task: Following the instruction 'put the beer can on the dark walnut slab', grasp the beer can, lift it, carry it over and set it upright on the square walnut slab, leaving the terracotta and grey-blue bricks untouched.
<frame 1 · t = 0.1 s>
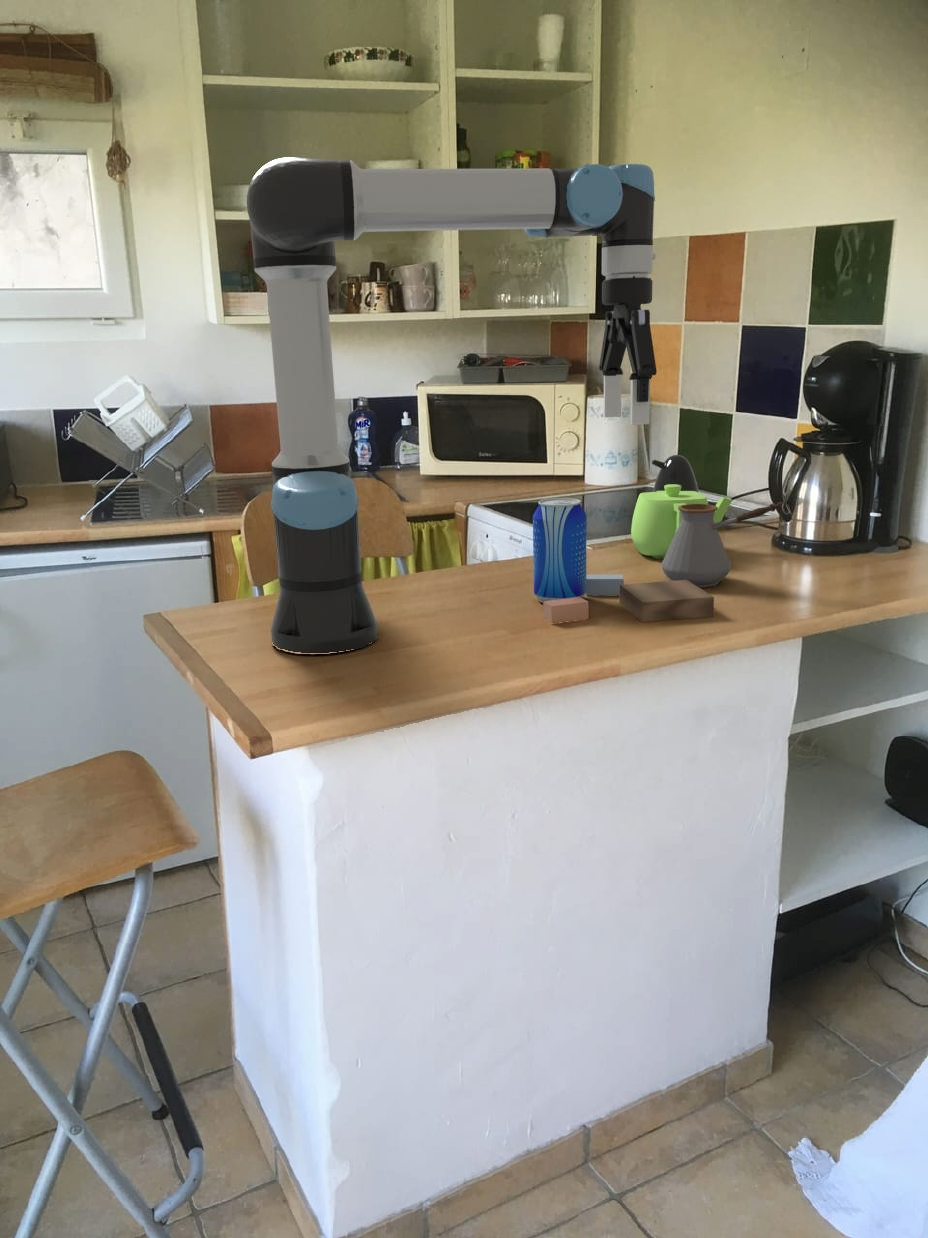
hand: (625, 420, 159), 28 cm above the countertop, fingers open, 13 cm apart
terracotta brick: (565, 620, 153), on the countertop
coffee pot: (722, 587, 169), on the countertop
teapot: (681, 553, 194), on the countertop
greyblue brick: (604, 594, 167), on the countertop
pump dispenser: (674, 526, 219), on the countertop
beer can: (560, 601, 164), on the countertop
walnut slab: (665, 609, 156), on the countertop
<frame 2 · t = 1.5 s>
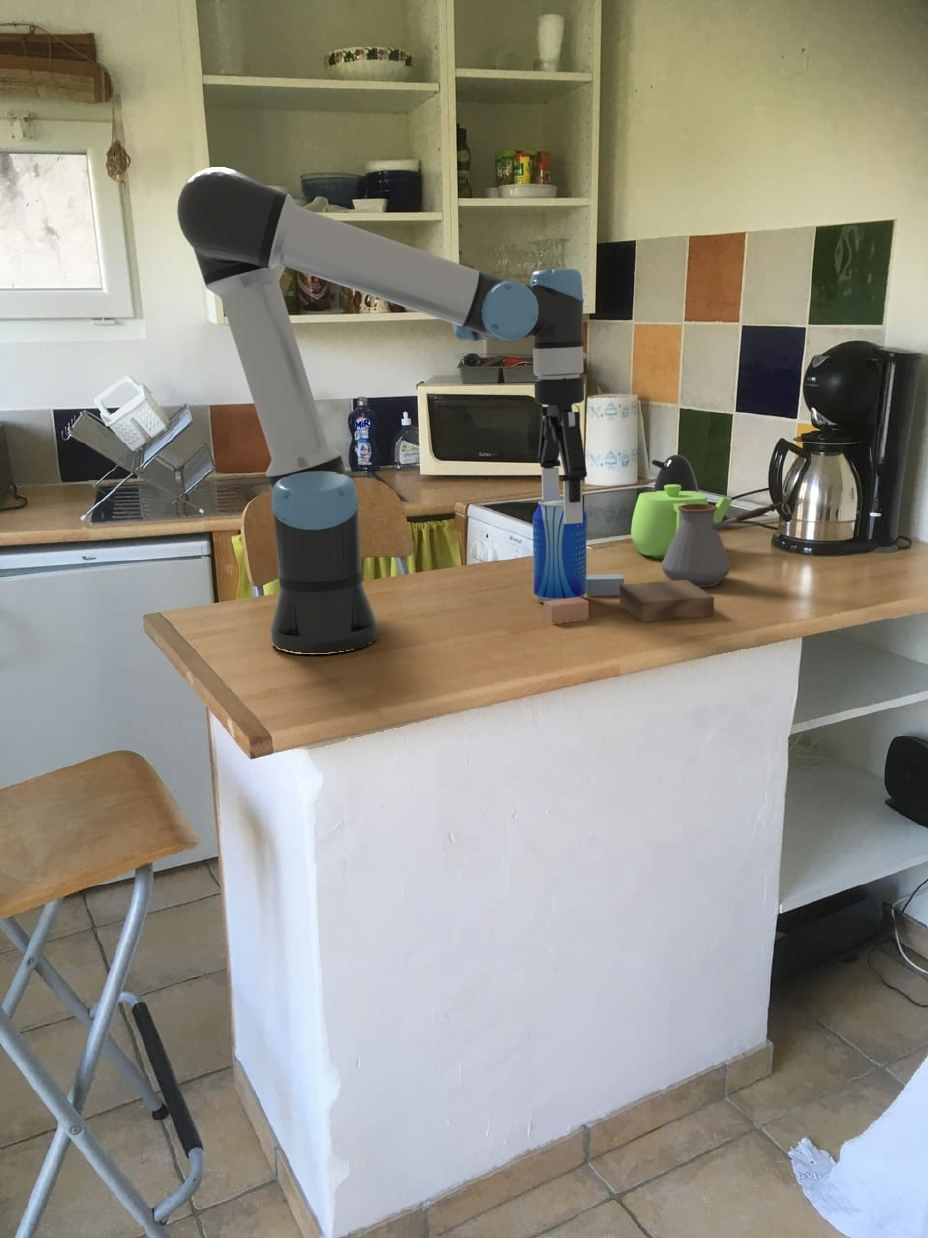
hand: (561, 515, 160), 14 cm above the countertop, fingers open, 13 cm apart
nothing on the countertop moved.
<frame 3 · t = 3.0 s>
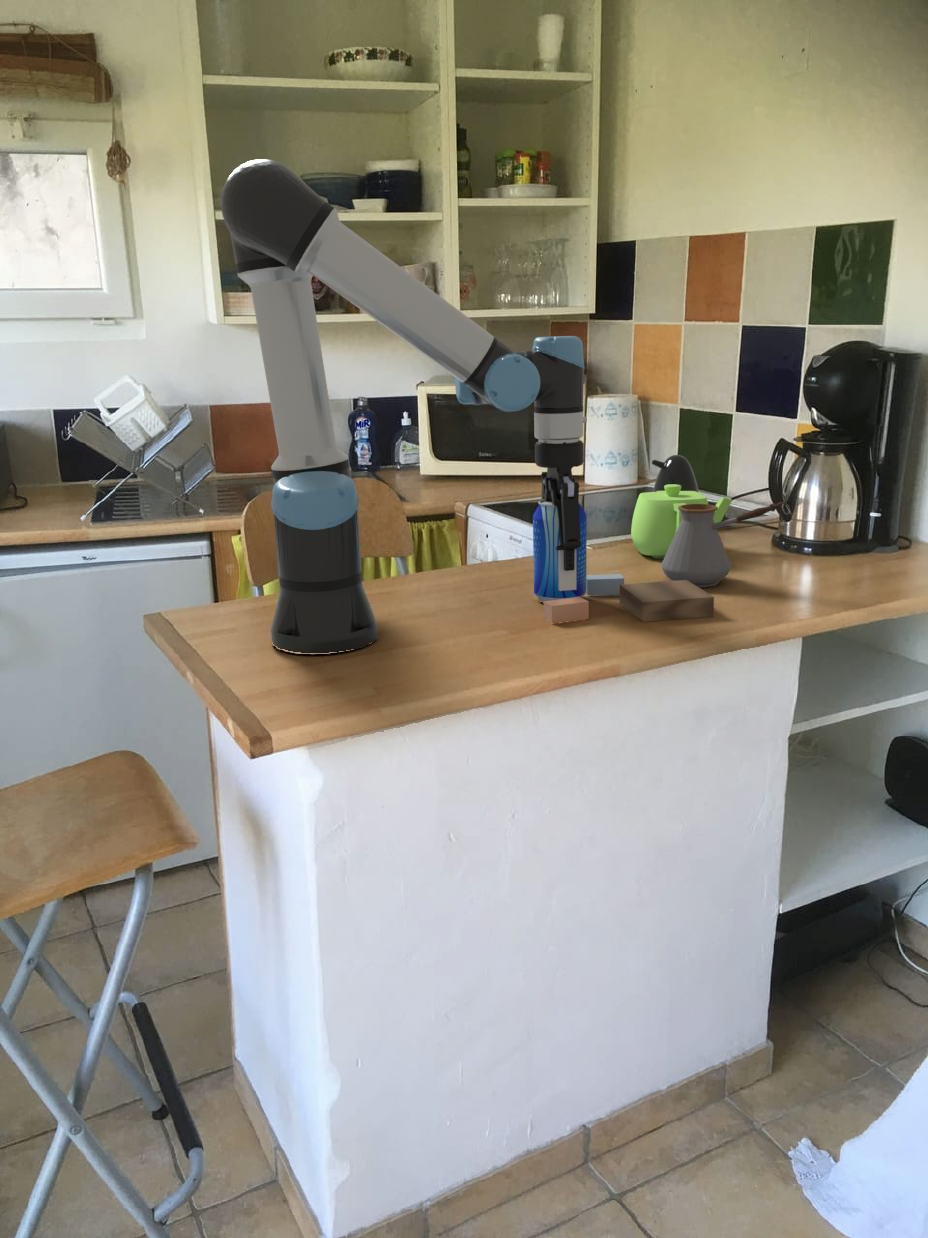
hand: (560, 582, 163), 3 cm above the countertop, fingers closed on beer can, 8 cm apart
beer can: (560, 600, 164), on the countertop, touching gripper
everything else where it was.
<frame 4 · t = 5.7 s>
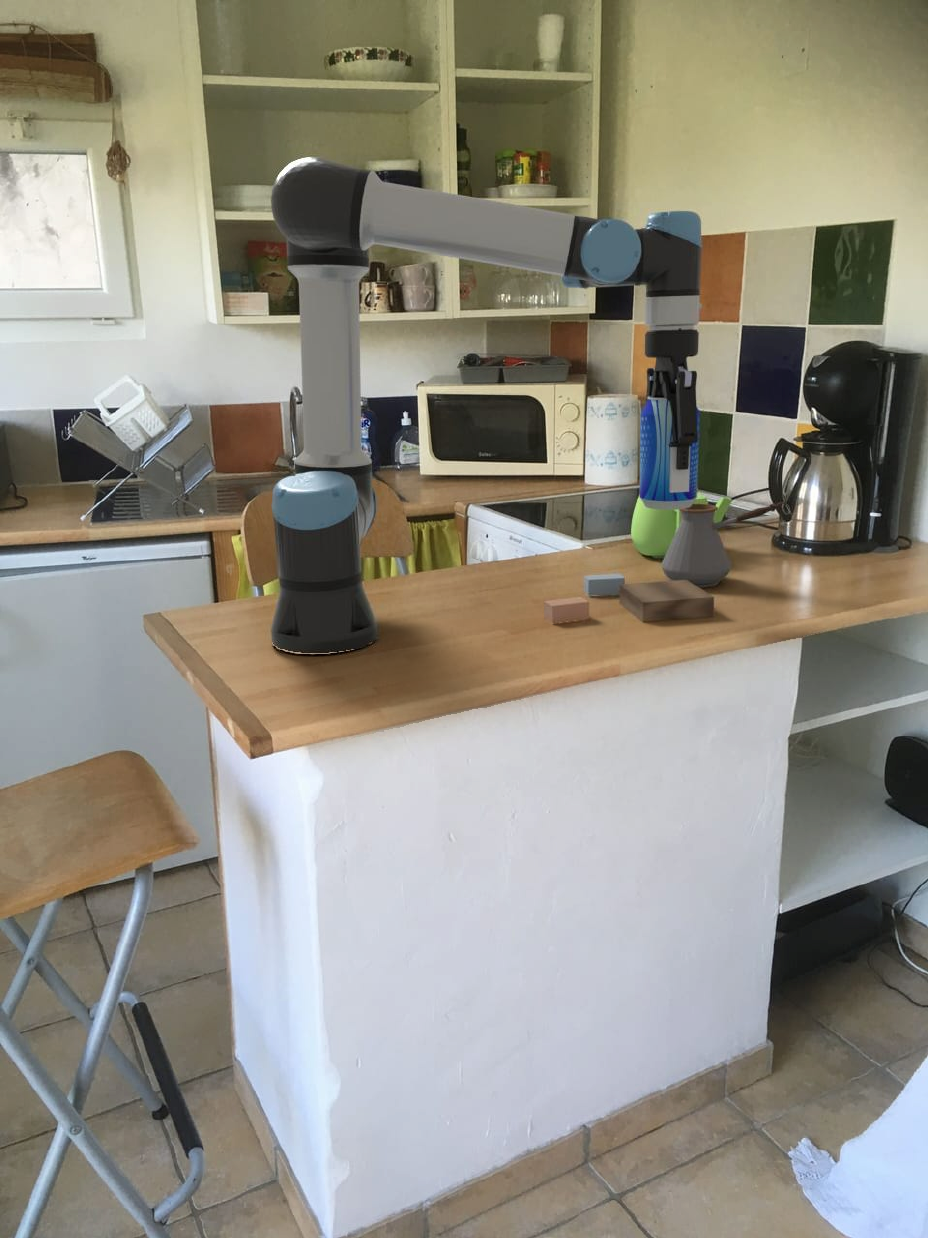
hand: (668, 486, 151), 19 cm above the countertop, fingers closed on beer can, 8 cm apart
beer can: (667, 507, 152), point 16 cm above the countertop, touching gripper
everything else where it was.
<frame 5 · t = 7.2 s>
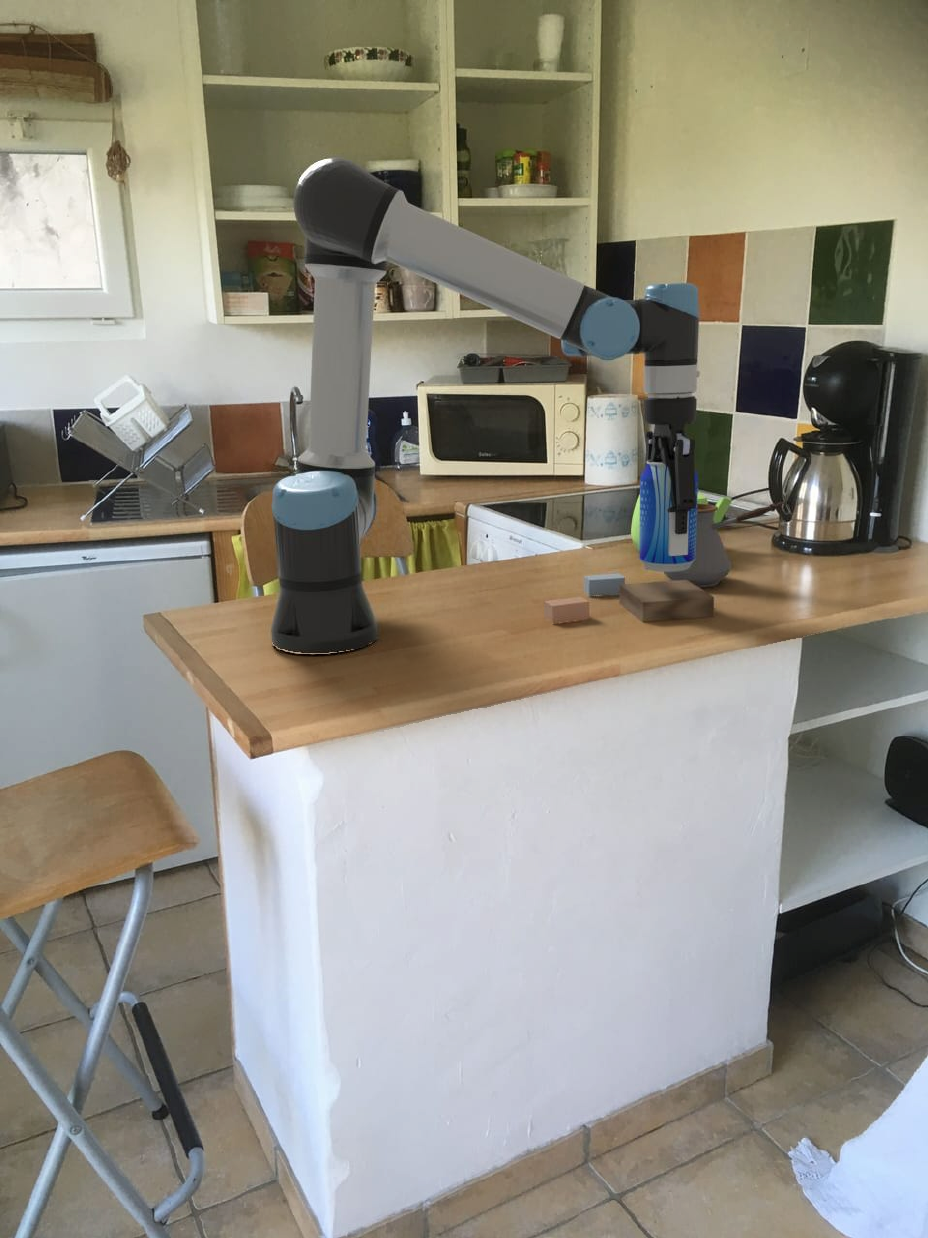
hand: (667, 548, 154), 10 cm above the countertop, fingers closed on beer can, 8 cm apart
beer can: (667, 567, 155), point 7 cm above the countertop, touching gripper
everything else where it was.
when the fingers open (7 cm above the countertop, at t = 8.3 s): beer can stays where it is, resting on walnut slab.
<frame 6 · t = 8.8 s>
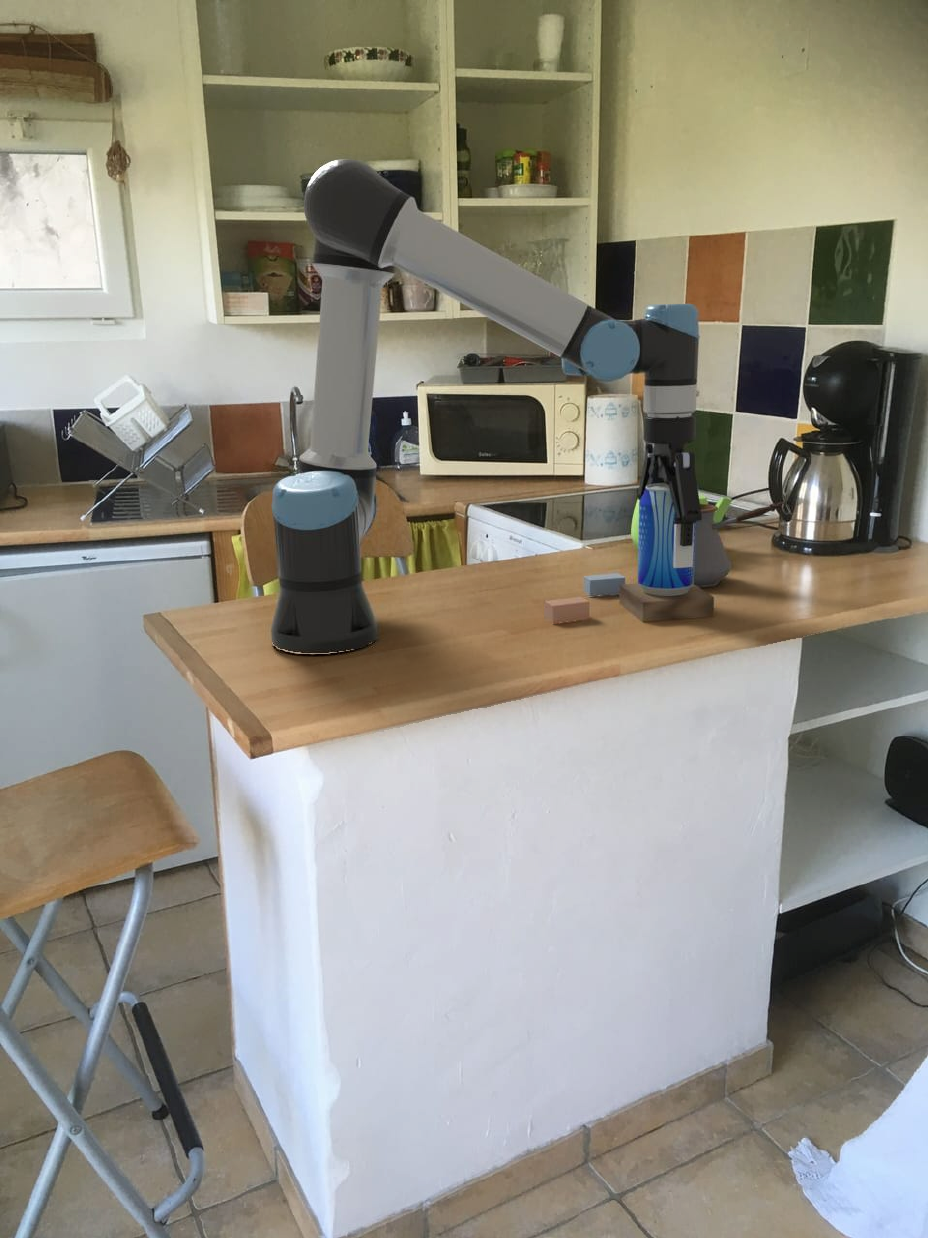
hand: (666, 557, 154), 8 cm above the countertop, fingers open, 13 cm apart
beer can: (665, 591, 156), point 3 cm above the countertop, touching walnut slab
everything else where it was.
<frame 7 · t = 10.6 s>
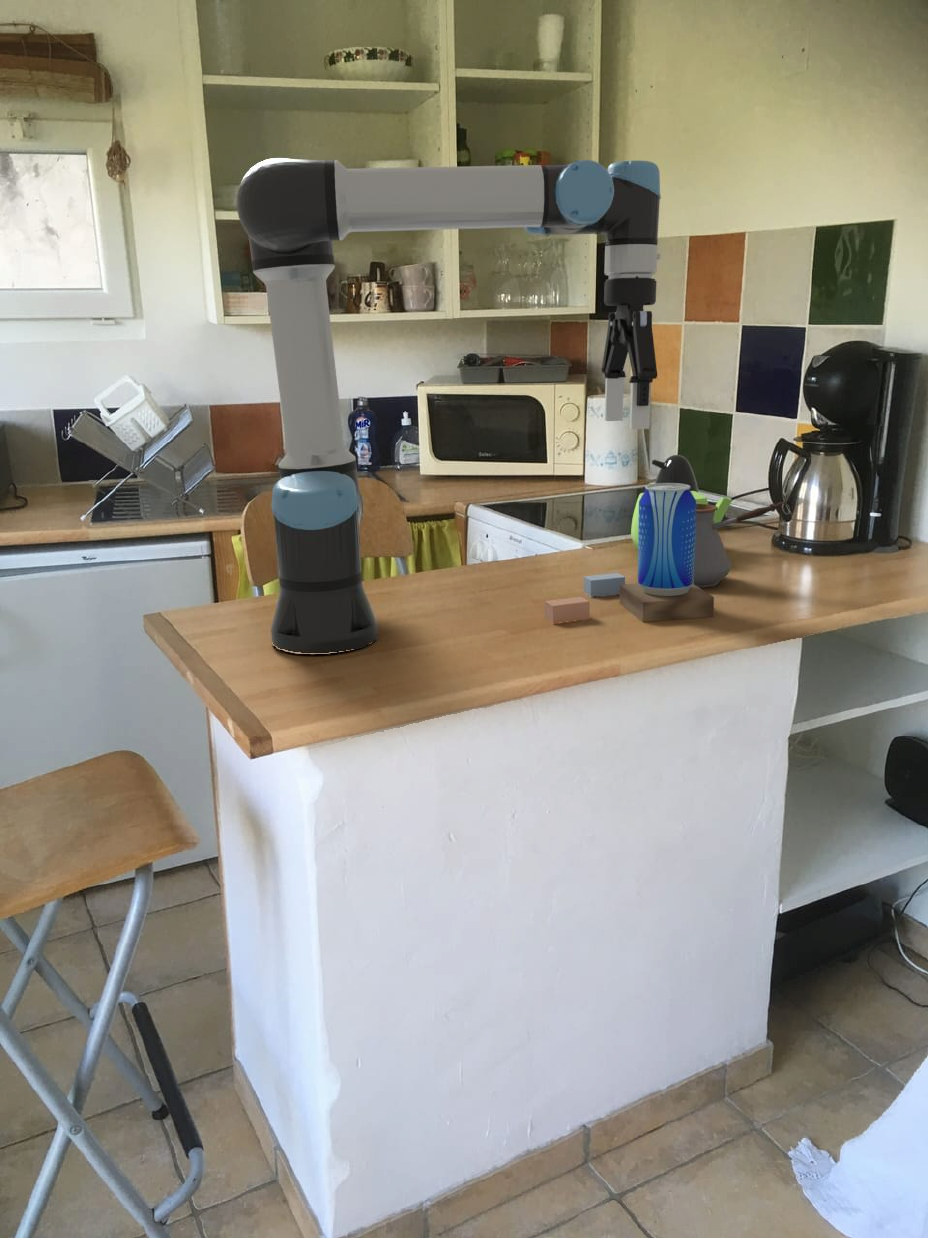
hand: (626, 424, 155), 28 cm above the countertop, fingers open, 13 cm apart
nothing on the countertop moved.
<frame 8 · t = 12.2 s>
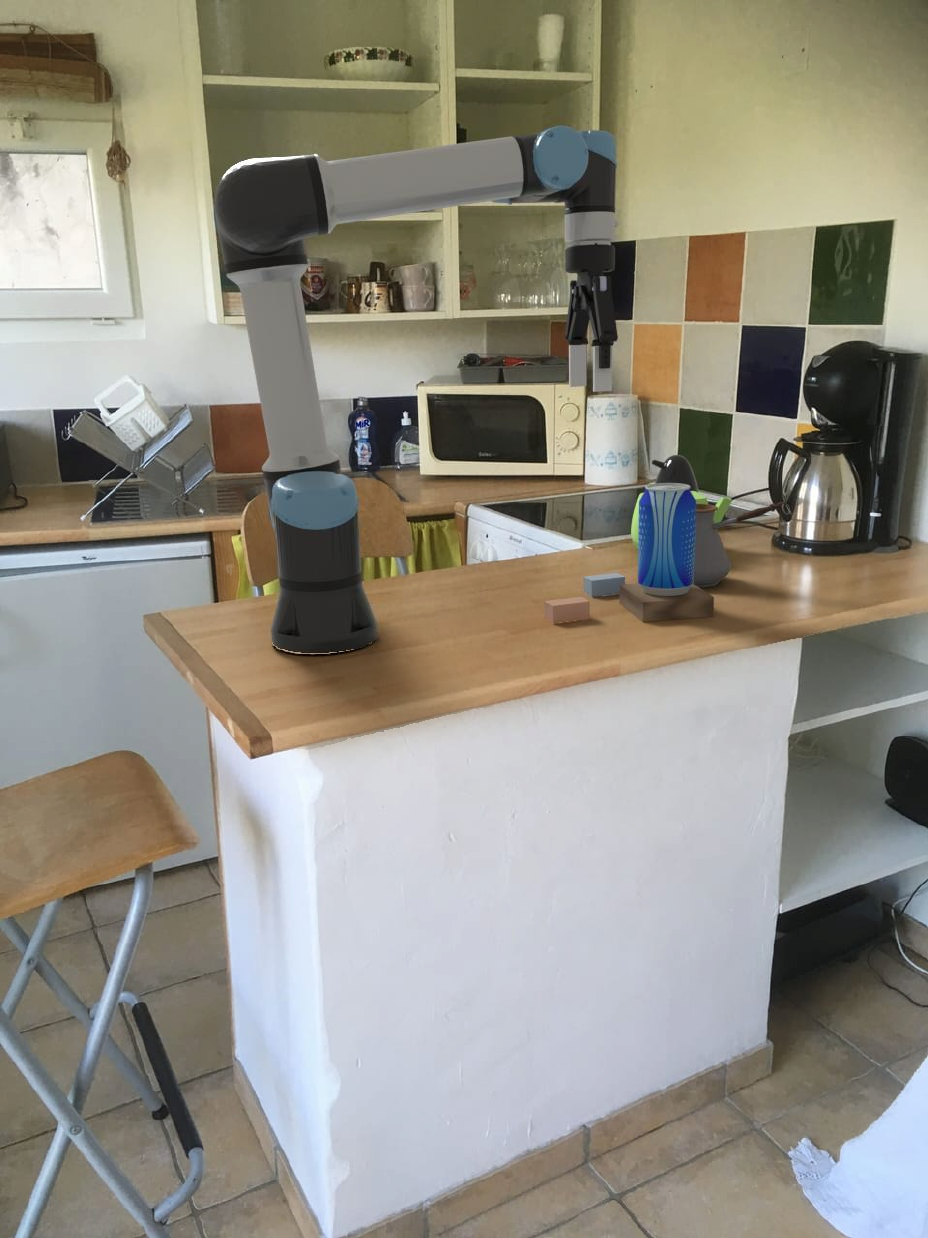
hand: (589, 388, 159), 33 cm above the countertop, fingers open, 13 cm apart
nothing on the countertop moved.
at the end: beer can inside the target area on the walnut slab (0.1 cm from its centre), point 2.8 cm above the walnut slab's base; beer can tilted 0°; terracotta brick moved 0.3 cm from its start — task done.
